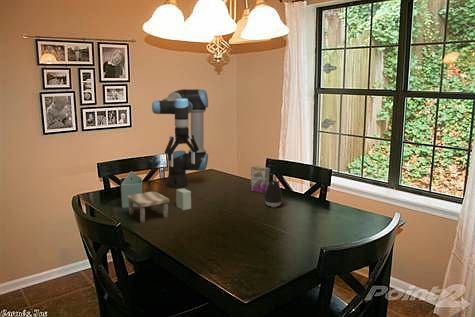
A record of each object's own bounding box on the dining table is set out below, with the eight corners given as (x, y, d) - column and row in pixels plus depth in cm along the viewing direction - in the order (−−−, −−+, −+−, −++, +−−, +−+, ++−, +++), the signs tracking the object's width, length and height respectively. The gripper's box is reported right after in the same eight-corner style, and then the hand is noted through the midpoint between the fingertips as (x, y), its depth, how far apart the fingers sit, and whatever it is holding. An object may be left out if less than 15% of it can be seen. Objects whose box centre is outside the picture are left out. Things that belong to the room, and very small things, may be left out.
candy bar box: (250, 191, 264) (250, 166, 261) (254, 189, 268) (254, 165, 265) (265, 194, 258) (266, 169, 255) (269, 192, 262) (269, 167, 259)
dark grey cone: (285, 205, 235) (286, 180, 232) (274, 210, 228) (275, 183, 224) (271, 202, 242) (272, 177, 239) (260, 206, 234) (261, 180, 231)
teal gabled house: (132, 210, 225) (130, 175, 221) (121, 207, 229) (120, 173, 225) (152, 202, 239) (151, 169, 235) (142, 200, 243) (140, 168, 239)
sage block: (184, 204, 235) (183, 188, 233) (191, 208, 229) (190, 191, 227) (176, 206, 232) (176, 189, 230) (183, 210, 226) (183, 192, 224)
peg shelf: (155, 208, 228) (154, 191, 226) (169, 217, 214) (169, 199, 212) (127, 213, 219) (126, 195, 217) (141, 223, 205) (140, 204, 203)
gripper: (198, 124, 231) (198, 161, 235) (157, 127, 217) (158, 166, 221) (204, 126, 225) (205, 163, 230) (163, 129, 211) (164, 168, 215)
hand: (182, 164), depth 225 cm, fingers open, 13 cm apart
